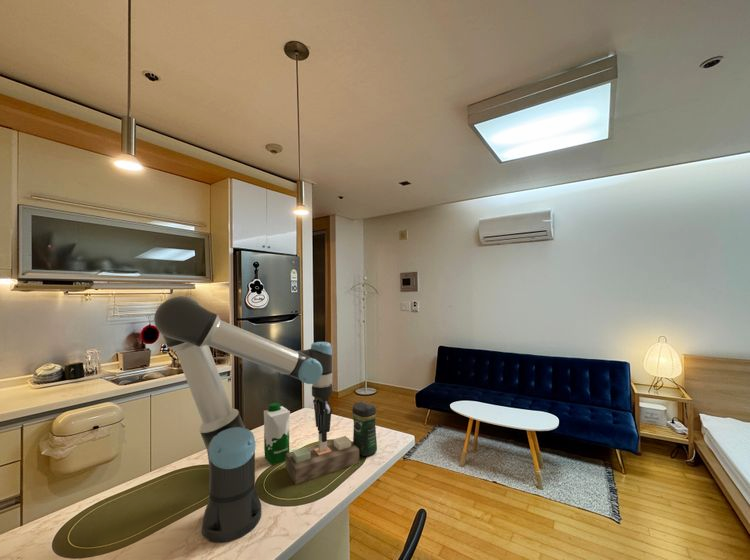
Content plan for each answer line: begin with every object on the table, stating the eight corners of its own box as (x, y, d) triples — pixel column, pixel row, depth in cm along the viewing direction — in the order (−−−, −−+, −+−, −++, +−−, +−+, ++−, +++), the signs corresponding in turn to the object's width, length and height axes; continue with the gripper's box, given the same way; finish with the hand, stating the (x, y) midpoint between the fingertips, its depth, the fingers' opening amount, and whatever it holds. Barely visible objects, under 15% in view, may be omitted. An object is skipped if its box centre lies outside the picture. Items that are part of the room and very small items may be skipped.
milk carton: (283, 450, 127) (282, 400, 128) (293, 459, 120) (292, 406, 121) (261, 457, 121) (261, 405, 122) (270, 467, 114) (270, 411, 115)
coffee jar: (380, 451, 124) (379, 404, 125) (365, 459, 119) (364, 409, 120) (364, 443, 131) (364, 398, 132) (349, 450, 126) (349, 403, 127)
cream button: (339, 454, 116) (339, 444, 116) (333, 448, 121) (333, 439, 121) (351, 450, 119) (351, 440, 119) (345, 444, 123) (345, 435, 123)
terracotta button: (318, 464, 112) (318, 454, 112) (313, 458, 116) (313, 449, 116) (331, 460, 115) (331, 450, 115) (326, 454, 119) (326, 445, 119)
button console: (295, 484, 104) (295, 468, 104) (285, 467, 114) (285, 453, 114) (359, 462, 117) (359, 449, 117) (345, 449, 127) (345, 436, 127)
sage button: (296, 467, 108) (296, 456, 108) (292, 460, 112) (292, 450, 112) (310, 462, 111) (310, 452, 111) (306, 456, 115) (305, 446, 115)
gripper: (338, 387, 113) (339, 454, 112) (324, 378, 124) (325, 439, 123) (318, 390, 109) (319, 460, 108) (306, 382, 120) (307, 444, 119)
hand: (322, 449), depth 116 cm, fingers closed
